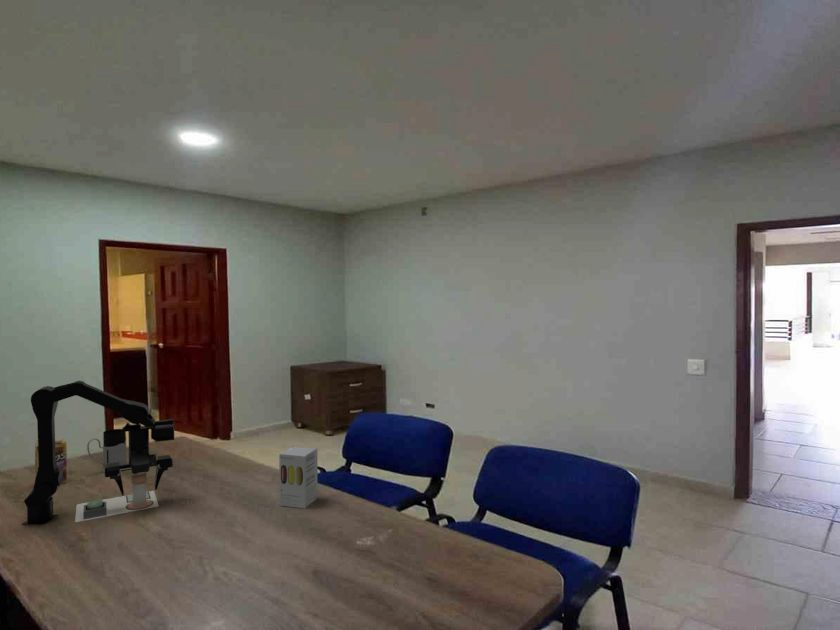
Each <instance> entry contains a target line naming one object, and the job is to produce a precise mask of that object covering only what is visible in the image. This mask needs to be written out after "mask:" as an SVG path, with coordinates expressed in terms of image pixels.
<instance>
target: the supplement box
mask: <svg viewBox="0 0 840 630" xmlns="http://www.w3.org/2000/svg"><path fill="white" fill-rule="evenodd" d="M278 456H279V464H278V465H279V470H278V471H279V475H278V476H279V480H278V485H279V486H278V487H279V488H278V489H279V490H278V491H279V493H278V494H279V495H278V497H279V499H278V500H279V501H278V505H279V506H280V507H289V508H295V509H306V508H308V507H309V506H310V505H311V504H312V503H313V502H315V501H316V500H317V499H318V448H315V447H313V448H312V447H300V446H291V447H290V448H288V449H285V450H284V451H282V452H279V455H278Z"/></svg>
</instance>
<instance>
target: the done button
mask: <svg viewBox="0 0 840 630" xmlns="http://www.w3.org/2000/svg"><path fill="white" fill-rule="evenodd" d="M102 500H103V499H96V500H91V501H89V503H88V502H86V503H87V509H88V510H93V509H98V508H101V507H103V501H102Z"/></svg>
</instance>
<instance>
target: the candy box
mask: <svg viewBox="0 0 840 630" xmlns="http://www.w3.org/2000/svg"><path fill="white" fill-rule="evenodd" d="M34 447H35V448H34V456H35V457H34V466H35V467H34V473H35V474H34V475H35V476H34V479H35V478H36V475H37V471H38V467H39V460H38V443H35V445H34ZM67 451H68V448H67V441H66V439H61V440H60V439H59V440H55V453H56V464H57V466H58V468H59V467H64V469H63V477H64V480H63V482H62V483H61V485H62V484H67V482H68V479H67V477H68V474H67V473H68V471H67V468H68V467H67V465H68V463H67V461H68V460H67V458H68V457H67V456H68V455H67V453H68V452H67Z"/></svg>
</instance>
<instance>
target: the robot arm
mask: <svg viewBox="0 0 840 630" xmlns="http://www.w3.org/2000/svg"><path fill="white" fill-rule="evenodd" d="M74 396H76V397H77V396H78V397H80V398H82V399H84V400H87V401H89V402H92V403H94V404H97V405H100V406H101V407H103V408H106V409H109V410H111V411H113V412H115V413H117V415H120V417H121V418H123V419H124V420H126V421H128V422H126V424H125V425H124V426H122V428H121V429H122V430H121V431H122V432H128V433H127V434H128V463H127V464H124V465H119V462H116V463H109V464H106V465H105V473H104V478H109V480H114V481H115V482H116V484H117V486H118V489H119V491H120V494H121V496H125V495H124V493H125V492H124V486H123V479H122V474H121V472H125V471H131V473H132V475H133V474H137V473H141V472H145V473H148V472H150V468H152V467H155V477H154V478H155V479H154V491H156V490H158V487H159V485H160V484H159V483H160V481H161V479H162V476H163V474H164V473H165V471H168V470H169V468H172V467H173V466H174V464H173V458H172V456H171V455H170V454H166V455H159V456H157V453H153V454H152V453H151V454H150V439H151V440H152V441H154V442H155V443H160V442H167V441H168V442H170V441H175V427H174V419H173V418H170V419H169V418H168V419H165V420H164V419H162V420H156V418H155V417H154V416H153V415H152V414H151V413H150V410H149V405H147V404H145V403H143V402H139V401H134V400H130V399H126V398H125V399H124V398H120V397H119V396H116V395H114V394H112V393H110V392H106V391H104V390H103V389H99V388H97V387H95V386H93V385H90V384H88V383H86V382H85V381H83V380H75V381H74V382H71V383H66V384H61V385H58V386H55V387H53V386H51V385H50V386H47V385H46V386H43V387H40V388H39V389H37V390H36V391H35V392H33V393H32V395H31V397H30V404H31V408H32V411H33V414H34V415H35V417H36V420H37V421H36V422H37V423H36V425H37V444H38V460H39V467H38V471H37V475H36V478H35V477H34V479H35V480H34V485H33V488H32V490H31V491H30V492H29V494H28V495H27V496H26V497H25V499H24V500H23V502H24V504H25V506H26V513H27V514H26V515H27V516H26V521H24V522H23V523H22V524H21V525H23V526H30V525H31V526H35V525H45V524H48V523H49V522H50V521H52V520H54V519H56V517H58V516H59V514H54V498H53V496H54V495H55V494H56V493H57V491H58V490H59V488H60V487H61V485H62V484H63V483H62V482H63V480H64V477H63V469H64V467H59V468H58V466H57V464H56V453H55V441H56V426H55V425H56V424H55V417H56V412H57V408H58V405H59V402H60V401H62V400H65V399H69V398H71V397H74ZM61 483H62V484H61Z"/></svg>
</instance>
